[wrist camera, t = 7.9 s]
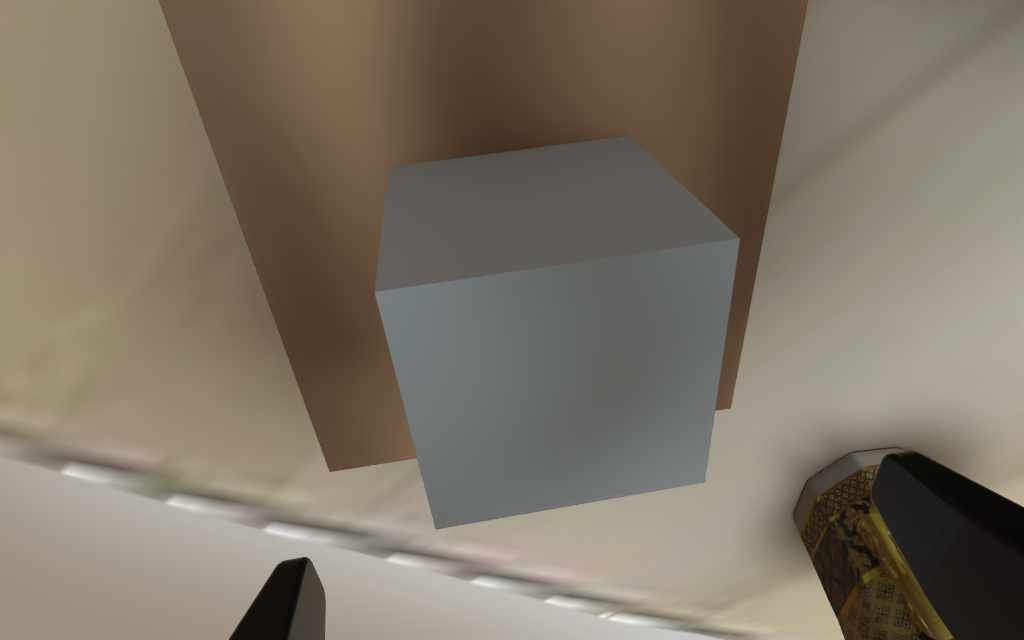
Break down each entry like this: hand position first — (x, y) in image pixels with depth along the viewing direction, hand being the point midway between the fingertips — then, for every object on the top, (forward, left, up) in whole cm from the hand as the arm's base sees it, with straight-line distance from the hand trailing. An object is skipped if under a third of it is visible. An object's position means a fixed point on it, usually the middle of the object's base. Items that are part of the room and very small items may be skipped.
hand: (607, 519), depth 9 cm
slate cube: (0, 0, -9) cm, 9 cm away
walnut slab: (0, 0, -13) cm, 13 cm away
